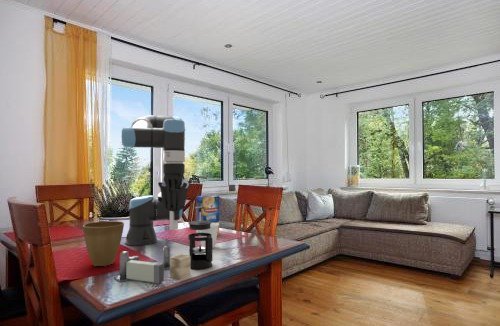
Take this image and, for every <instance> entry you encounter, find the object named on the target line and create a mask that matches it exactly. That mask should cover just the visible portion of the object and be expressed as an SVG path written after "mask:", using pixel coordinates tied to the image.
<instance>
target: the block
mask: <svg viewBox="0 0 500 326" xmlns="http://www.w3.org/2000/svg"><path fill="white" fill-rule="evenodd" d="M191 270H192V269H191V256H189V255H187V254H183V253H179V254H176V255H174V256H170V269H169V279H170V278H171V279H175V280H180V281H183V280H184V279H186V278H188V277H190V276H191V275H192V274H191Z"/></svg>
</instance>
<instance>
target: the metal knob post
mask: <svg viewBox="0 0 500 326" xmlns="http://www.w3.org/2000/svg"><path fill="white" fill-rule="evenodd" d="M129 253H130V252H129V251H126V250H125V251H121V252H119V275H117V276H113V280H115V281H116V282H119V283H123V282H127V281H131V280H132V279H127V278H126V262H128V261H130V260H136V261H140V257H139V256H138V255H133V256H130V255H129Z"/></svg>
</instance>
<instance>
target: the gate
mask: <svg viewBox="0 0 500 326" xmlns="http://www.w3.org/2000/svg"><path fill="white" fill-rule="evenodd" d="M126 278H127V279H131V280H136V281H141V282H150V283H153V284H161V283H162V282H164V281H165V270H164V263H163V262H154V261H153V262H152V261H142V260H139V261H136V260H130V261H128V262H126Z"/></svg>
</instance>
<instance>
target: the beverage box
mask: <svg viewBox="0 0 500 326" xmlns="http://www.w3.org/2000/svg"><path fill="white" fill-rule="evenodd" d="M195 199H196V200H195V202H196V207H205V208H203V209H201V221H210V222H212V223H218V224H219V225H218V232H217V236H219V235H220V196H219V195H213V194H210V195H197V196H196V198H195ZM195 209H196V208H195ZM195 218H196V220H195V221H200V212H199V209H196V216H195ZM195 231H196V232H195V233H200V230H195Z"/></svg>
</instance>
